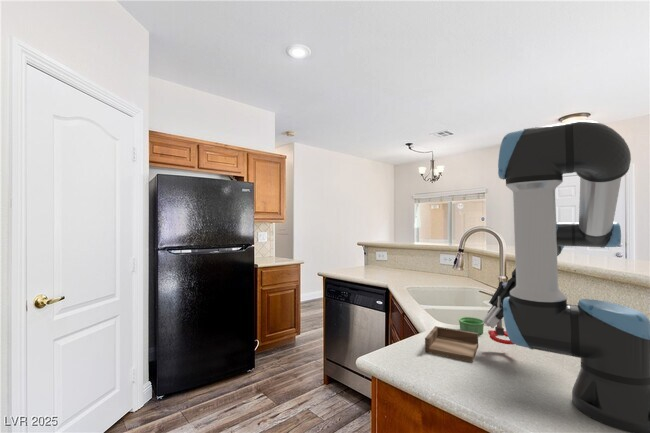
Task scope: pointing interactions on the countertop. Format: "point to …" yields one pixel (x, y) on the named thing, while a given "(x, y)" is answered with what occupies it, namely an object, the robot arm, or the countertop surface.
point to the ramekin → (471, 324)
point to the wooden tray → (452, 343)
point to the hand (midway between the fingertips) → (487, 324)
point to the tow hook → (499, 330)
